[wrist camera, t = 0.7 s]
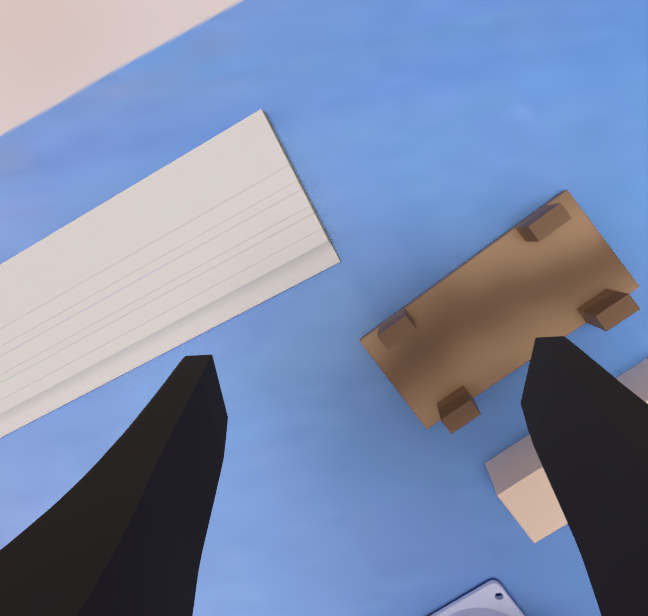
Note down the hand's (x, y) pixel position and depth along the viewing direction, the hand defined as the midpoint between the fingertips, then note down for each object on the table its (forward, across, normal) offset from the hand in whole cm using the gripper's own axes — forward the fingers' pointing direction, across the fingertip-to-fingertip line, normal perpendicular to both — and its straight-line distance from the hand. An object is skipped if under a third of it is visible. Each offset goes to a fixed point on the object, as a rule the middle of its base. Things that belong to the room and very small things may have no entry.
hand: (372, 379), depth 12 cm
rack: (+17, -9, +12) cm, 23 cm away
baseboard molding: (+21, +16, +12) cm, 29 cm away
